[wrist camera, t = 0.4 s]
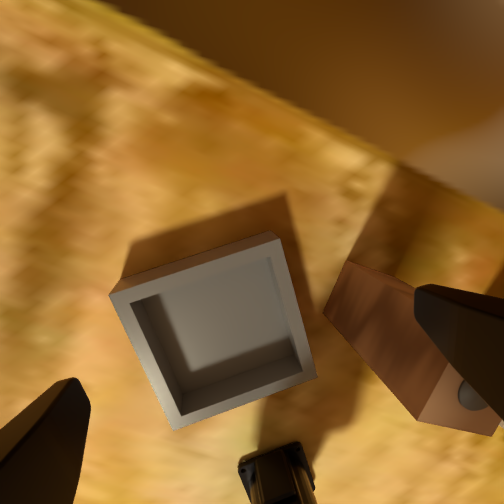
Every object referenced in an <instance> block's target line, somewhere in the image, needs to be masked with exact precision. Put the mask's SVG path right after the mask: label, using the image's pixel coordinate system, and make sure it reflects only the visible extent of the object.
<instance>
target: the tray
mask: <svg viewBox="0 0 504 504" xmlns="http://www.w3.org/2000/svg"><path fill="white" fill-rule="evenodd" d="M109 297H110V300H111V302H112V304H113V306H114V308H115V310H116V312H117V314H118V316H119V318H120V320H121V323H122V325H123V327H124V329H125V331H126V333H127V335H128V337H129V339H130V341H131V344H132V346H133V348H134V350H135V352H136V354H137V356H138V358H139V360H140V362H141V365H142V367H143V369H144V371H145V373H146V375H147V377H148V379H149V381H150V383H151V386H152V388H153V390H154V392H155V394H156V396H157V398H158V400H159V402H160V404H161V407H162V409H163V411H164V413H165V415H166V417H167V419H168V421H169V423H170V425H171V428H172V430H173V431H174V430H177V429H180V428H183V427H185V426H188V425H191V424H193V423H196V422H199V421H201V420H204V419H207V418H209V417H212V416H215V415H217V414H220V413H223V412H226V411H228V410H231V409H234V408H236V407H239V406H242V405H244V404H247V403H250V402H252V401H255V400H258V399H261V398H263V397H266V396H269V395H271V394H274V393H277V392H279V391H282V390H285V389H287V388H290V387H293V386H296V385H298V384H301V383H304V382H306V381H309V380H312V379H314V378H317V373H316V369H315V366H314V362H313V358H312V354H311V351H310V347H309V343H308V340H307V336H306V332H305V329H304V325H303V321H302V318H301V314H300V310H299V307H298V303H297V299H296V296H295V292H294V288H293V285H292V281H291V277H290V273H289V270H288V266H287V262H286V259H285V255H284V251H283V248H282V244H281V240H280V238H279V237H278V236H276V235H275V234H274V233H273V232H272V231H267V232H264V233H261V234H258V235H255V236H252V237H249V238H246V239H243V240H239V241H236V242H233V243H230V244H227V245H224V246H221V247H218V248H215V249H212V250H209V251H206V252H203V253H200V254H197V255H194V256H190V257H187V258H184V259H181V260H178V261H175V262H172V263H169V264H166V265H163V266H160V267H157V268H154V269H151V270H148V271H145V272H141V273H138V274H135V275H132V276H129V277H126V278H123V279H120V280H119V281H118V283H117V284H116V285H115V287H114V288H113V289H112V291H111V292H110V293H109Z"/></svg>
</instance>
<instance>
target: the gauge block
mask: <svg viewBox="0 0 504 504" xmlns="http://www.w3.org/2000/svg"><path fill="white" fill-rule="evenodd" d="M415 289H416V288H414V287H412V286H410V285H408V284H406V283H404V282H403V281H401V280H399V279H397V278H395V277H393V276H390V275H387V274H384V273H381V272H378V271H375V270H373V269H370V268H367V267H364V266H361V265H358V264H355V263H352V262H350V261H347V260H346V261H345V264H344V266H343V268H342V270H341V273H340V275H339V277H338V279H337V282H336V284H335V286H334V289H333V291H332V293H331V295H330V298H329V300H328V302H327V304H326V307H325V309H324V311H323V314H324V315H325V316H326V317H327V318H328V319H329V320H330V322H331V323H332V324H333V325H334V326H335V327H336V329H337V330H338V331H339V332H340V333H341V334H342V335H343V337H344V338H345V339H346V340H347V341H348V342H349V343H350V345H351V346H352V347H353V348H354V349H355V350H356V352H357V353H358V354H359V355H360V356H361V357H362V358H363V360H364V361H365V362H366V363H367V364H368V365H369V366H370V368H371V369H372V370H373V371H374V372H375V373H376V374H377V376H378V377H379V378H380V379H381V380H382V381H383V383H384V384H385V385H386V386H387V387H388V388H389V389H390V391H391V392H392V393H393V394H394V395H395V396H396V397H397V399H398V400H399V401H400V402H401V403H402V404H403V406H404V407H405V408H406V409H407V410H408V411H409V412H410V414H411V415H412V416H413V417H414V418H415V419H416V420H417V421H420V422H424V423H429V424H434V425H439V426H443V427H448V428H453V429H458V430H462V431H467V432H472V433H476V434H481V435H486V436H491V437H492V435H493V434H494V432H495V430H496V429H497V427H498V425H499V424H500V422H501V420H502V419H501V418H500V417H499V416H498V415H497V414H496V413H495V412H494V411H493V410H492V408H491V407H490V406H489V405H488V404H487V403H486V402H485V401H484V400H483V399H482V398H481V397H480V396H479V395H478V394H477V393H476V392H475V391H474V389H473V388H472V387H471V386H470V385H469V384H468V383H467V382H466V381H465V380H464V379H463V378H462V377H461V376H460V375H459V373H458V372H457V371H456V370H455V369H454V368H453V367H452V366H451V364H450V363H449V362H448V361H447V360H446V358H445V357H444V356H443V354H442V353H441V352H440V351H439V349H438V348H437V347H436V346H435V344H434V343H433V342H432V340H431V339H430V338H429V337H428V335H427V334H426V333H425V331H424V330H423V329H422V328H421V326H420V325H419V324H418V323H417V321H416V319H415V317H414V291H415Z"/></svg>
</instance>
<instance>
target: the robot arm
mask: <svg viewBox="0 0 504 504" xmlns="http://www.w3.org/2000/svg"><path fill="white" fill-rule="evenodd" d="M414 317H415V319H416V321H417V323H418V324H419V325H420V326H421V328H422V329H423V330H424V331H425V333H426V334H427V335H428V337H429V338H430V339H431V340H432V342H433V343H434V344H435V346H436V347H437V348H438V349H439V351H440V352H441V353H442V354H443V356H444V357H445V358H446V360H447V361H448V362H449V363H450V364H451V366H452V367H453V368H454V369H455V370H456V371H457V372H458V373H459V375H460V376H461V377H462V378H463V379H464V380H465V381H466V382H467V383H468V384H469V385H470V386H471V387H472V388H473V389H474V391H475V392H476V393H477V394H478V395H479V396H480V397H481V398H482V399H483V400H484V401H485V402H486V403H487V404H488V405H489V406H490V407H491V408H492V410H493V411H494V412H495V413H496V414H497V415H498V416H499V417H500V418H501V419H502V420H503V421H504V299H502V298H498V297H493V296H488V295H483V294H478V293H474V292H469V291H464V290H459V289H454V288H449V287H445V286H440V285H435V284H427V285H423V286H419V287H417V288H416V289H415V291H414ZM90 413H91V405H90V401H89V399H88V397H87V395H86V393H85V391H84V389H83V387H82V385H81V383H80V381H79V380H78V379H77V378H74V377H72V378H68V379H64V380H60V381H58V382H56V383H54V384H53V385H52V386H51V387H50V388H49V389H47V390H46V391H45V392H44V393H43V394H42V395H40V396H39V397H38V398H37V399H36V400H34V401H33V402H32V403H31V404H30V405H29V406H27V407H26V408H25V409H24V410H23V411H21V412H20V413H19V414H18V415H17V416H16V417H14V418H13V419H12V420H11V421H10V422H9V423H7V424H6V425H5V426H4V427H3V428H1V429H0V504H73V501H74V497H75V494H76V490H77V486H78V482H79V477H80V472H81V467H82V461H83V455H84V449H85V443H86V437H87V431H88V425H89V419H90ZM297 447H298V448H297ZM238 473H239V476H240V478H241V480H242V483H243V485H244V488H245V490H246V492H247V495H248V497H249V500H250V502H251V504H317V501H316V498H315V496H314V493H313V491H314V490H315V485H314V482H313V479H312V476H311V472H310V469H309V466H308V463H307V460H306V457H305V454H304V450H303V447H302V445H301V443H300V442H294V443H292V444H289V445H287V446H284V447H281V448H279V449H276V450H274V451H271V452H269V453H266V454H263V455H261V456H258V457H256V458H253V459H250V460H248V461H245V462H243V463H241V464H239V465H238Z"/></svg>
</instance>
